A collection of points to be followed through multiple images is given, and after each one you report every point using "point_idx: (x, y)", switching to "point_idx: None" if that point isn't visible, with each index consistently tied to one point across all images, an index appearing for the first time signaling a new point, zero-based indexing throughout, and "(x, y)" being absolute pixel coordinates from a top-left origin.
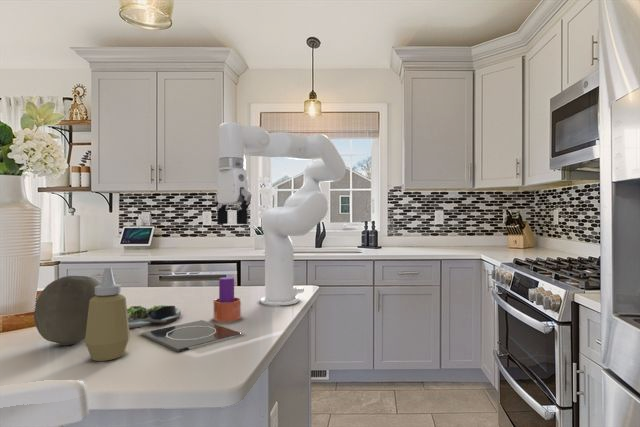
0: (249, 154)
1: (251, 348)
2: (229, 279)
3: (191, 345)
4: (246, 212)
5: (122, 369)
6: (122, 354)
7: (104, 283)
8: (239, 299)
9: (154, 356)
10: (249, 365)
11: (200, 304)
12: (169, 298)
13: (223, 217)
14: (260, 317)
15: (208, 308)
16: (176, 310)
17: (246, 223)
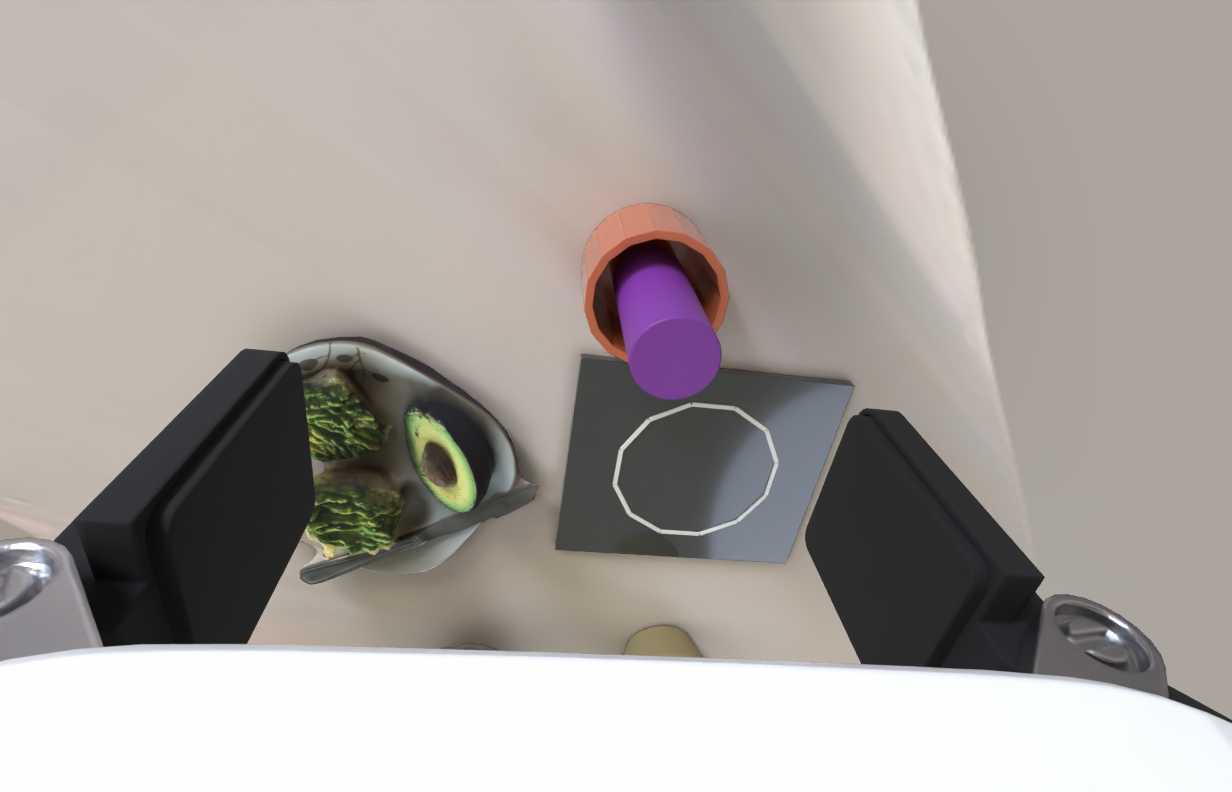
0: None
1: (952, 442)
2: (716, 372)
3: (794, 533)
4: (1003, 548)
5: (759, 654)
6: (689, 636)
7: None
8: (706, 257)
9: (752, 596)
10: (1009, 517)
11: (192, 101)
12: None
13: (266, 511)
14: (752, 132)
15: (345, 151)
16: (375, 361)
17: (890, 416)
